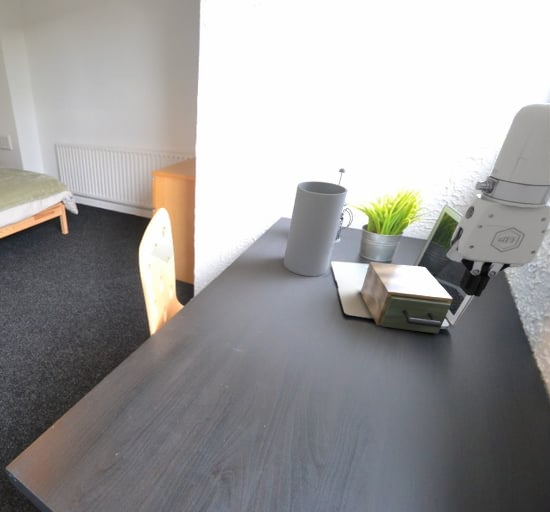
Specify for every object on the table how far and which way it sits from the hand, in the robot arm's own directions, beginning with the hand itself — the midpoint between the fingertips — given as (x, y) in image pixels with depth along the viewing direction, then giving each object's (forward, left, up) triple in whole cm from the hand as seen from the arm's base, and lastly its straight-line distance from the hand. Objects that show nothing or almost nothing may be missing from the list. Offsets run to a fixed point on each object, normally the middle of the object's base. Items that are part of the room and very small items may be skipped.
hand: (469, 291), depth 64 cm
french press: (+8, -64, -19) cm, 67 cm away
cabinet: (0, -21, -19) cm, 28 cm away
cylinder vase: (+19, -40, -19) cm, 48 cm away
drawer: (0, -17, -18) cm, 25 cm away
